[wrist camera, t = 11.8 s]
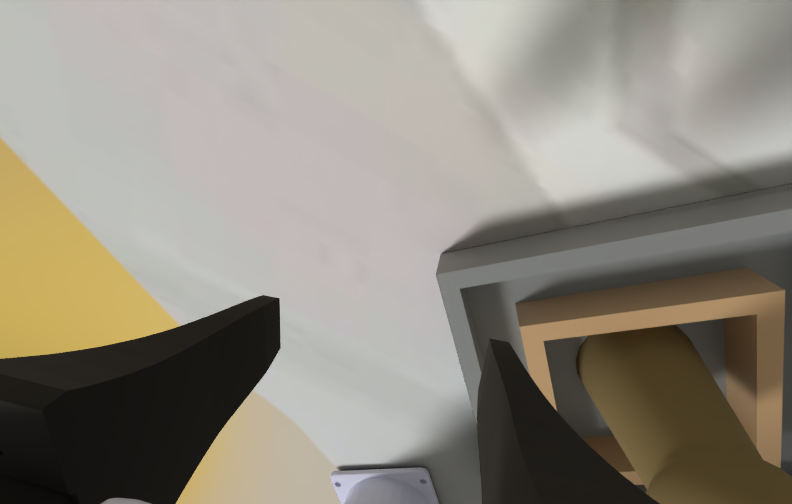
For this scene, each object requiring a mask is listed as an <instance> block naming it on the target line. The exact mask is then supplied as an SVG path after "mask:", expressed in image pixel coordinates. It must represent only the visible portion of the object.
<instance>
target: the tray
mask: <svg viewBox="0 0 792 504" xmlns="http://www.w3.org/2000/svg"><path fill="white" fill-rule="evenodd" d="M436 277H437V281H438V284H439V288H440V292H441V295H442V299H443V303H444V306H445V310H446V314H447V317H448V321H449V325H450V328H451V332H452V336H453V339H454V343H455V347H456V350H457V354H458V358H459V361H460V365H461V369H462V372H463V376H464V380H465V383H466V387H467V391H468V394H469V398H470V402H471V405H472V409H473V413H474V416H475V420H476V424H477V401H478V388H479V383H480V379H481V374H482V370H483V365H484V361H485V356H486V352H487V347H488V343H489V338H490V339H495V340H501V341H506V342H509V343H510V344H511V346H512V347H513V349H514V351H515V352H516V354H517V356H518V357H519V359H520V361H521V362H522V364H523V365H524V367H525V368H526V370H527V372H528V373H529V375H530V376H531V378H532V379H533V380H534V382H535V383H536V385H537V386H538V388H539V389H540V390H541V392H542V393H543V395H544V396H545V397H546V398H547V400H548V401H549V402H550V403H551V405H552V406H553V407H554V409H555V410H556V411H557V412H558V413H559V414H560V416H561V417H562V418H563V419H564V420H565V421H566V422H567V423H568V424H569V425H570V426H571V428H572V429H573V430H574V431H575V432H576V433H577V434H578V435H579V436H580V437H581V438H582V439H583V440H584V441H585V442H586V443H587V444H588V445H589V446H590V447H591V448H592V449H594V450H595V451H596V452H597V453H598V454H599V455H600V456H601V457H602V458H603V459H604V460H606V461H607V462H608V463H609V464H610V465H611V466H612V467H614V468H615V469H616V470H617V471H618V472H620V473H621V474H622V475H623V476H624V477H626V478H627V479H628V480H629V481H631V482H632V483H633V484H634V485H636V486H637V487H638V488H639V489H641V490H642V491H643V492H645V493H646V491H647V489H646V487H645V486H644V484H643V482H642V481H641V479H640V478H639V476H638V474H637V473H636V471H635V469H634V468H633V466H632V464H631V463H630V461H629V459H628V458H627V456H626V455H625V453H624V451H623V450H622V448H621V446H620V445H619V443H618V441H617V440H616V438H615V436H614V435H613V433H612V431H611V430H610V428H609V427H608V425H607V423H606V422H605V420H604V418H603V417H602V415H601V413H600V412H599V410H598V408H597V407H596V405H595V404H594V402H593V400H592V399H591V397H590V395H589V394H588V392H587V390H586V389H585V387H584V385H583V384H582V382H581V380H580V378H579V376H578V374H577V368H576V357H577V354H578V351H579V348H580V345H581V344H582V343H583V342H584V340H585V339H586V338H587V336H588V335H595V334H603V333H611V332H619V331H627V330H635V329H643V328H651V327H659V326H667V325H676V326H677V327H678V328H680V329H681V330H682V331H683V332H684V333H685V334H686V335H687V336H688V337H689V338H690V340H691V342H692V343H693V345H694V347H695V348H696V350H697V352H698V353H699V355H700V356H701V358H702V360H703V361H704V363H705V365H706V366H707V368H708V370H709V371H710V373H711V375H712V376H713V378H714V380H715V381H716V383H717V384H718V386H719V388H720V389H721V391H722V393H723V394H724V396H725V398H726V399H727V401H728V403H729V404H730V406H731V408H732V409H733V411H734V412H735V414H736V416H737V417H738V419H739V421H740V422H741V424H742V426H743V427H744V429H745V431H746V432H747V434H748V436H749V437H750V439H751V440H752V442H753V444H754V445H755V447H756V449H757V450H758V452H759V454H760V455H761V457H762V459H763V460H764V461H766V462H768V463H771V464H773V465H775V466H777V467H779V468H781V469H783V470H784V471H785V472H786V473H788V474H789V475H790V476H792V184H788V185H783V186H778V187H773V188H768V189H763V190H758V191H753V192H748V193H743V194H738V195H733V196H728V197H723V198H718V199H713V200H708V201H703V202H698V203H693V204H688V205H683V206H678V207H673V208H668V209H663V210H658V211H653V212H648V213H643V214H638V215H633V216H628V217H623V218H618V219H613V220H608V221H603V222H597V223H592V224H587V225H582V226H577V227H572V228H567V229H562V230H557V231H552V232H547V233H542V234H537V235H532V236H527V237H522V238H517V239H512V240H507V241H502V242H497V243H492V244H487V245H482V246H477V247H472V248H467V249H462V250H457V251H452V252H447V253H442V254H441V256H440V260H439V264H438V268H437V272H436Z"/></svg>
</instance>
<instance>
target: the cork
mask: <svg viewBox="0 0 792 504" xmlns="http://www.w3.org/2000/svg"><path fill="white" fill-rule="evenodd" d="M576 368H577V374H578V376H579V378H580V380H581V382H582V384H583V385H584V387H585V389H586V390H587V392H588V394H589V395H590V397H591V399H592V400H593V402H594V404H595V405H596V407H597V408H598V410H599V412H600V413H601V415H602V417H603V418H604V420H605V422H606V423H607V425H608V427H609V428H610V430H611V431H612V433H613V435H614V436H615V438H616V440H617V441H618V443H619V445H620V446H621V448H622V450H623V451H624V453H625V455H626V456H627V458H628V459H629V461H630V463H631V464H632V466H633V468H634V469H635V471H636V473H637V474H638V476H639V478H640V479H641V481H642V482H643V484H644V486H645V487H646V489H647V491H646V494H647V495H649V496H650V497H651V498H653V499H654V500H656V501H657V502H658V503H660V504H792V476H790V475H789V474H788V473H786V472H785V471H784V470H783V469H781V468H779V467H777V466H775V465H773V464H771V463H768V462H766V461H764V460H763V459H762V457H761V455H760V454H759V452H758V450H757V449H756V447H755V445H754V444H753V442H752V440H751V439H750V437H749V436H748V434H747V432H746V431H745V429H744V427H743V426H742V424H741V422H740V421H739V419H738V417H737V416H736V414H735V412H734V411H733V409H732V408H731V406H730V404H729V403H728V401H727V399H726V398H725V396H724V394H723V393H722V391H721V389H720V388H719V386H718V384H717V383H716V381H715V380H714V378H713V376H712V375H711V373H710V371H709V370H708V368H707V366H706V365H705V363H704V361H703V360H702V358H701V356H700V355H699V353H698V352H697V350H696V348H695V347H694V345H693V343H692V342H691V340H690V338H689V337H688V336H687V335H686V334H685V333H684V332H683V331H682V330H681V329H680V328H678V327H677V326H676V325H667V326H659V327H651V328H643V329H635V330H627V331H619V332H611V333H603V334H595V335H588V336H587V338H586V339H585V340H584V342H583V343H582V344H581V345H580V348H579V351H578V354H577V357H576Z"/></svg>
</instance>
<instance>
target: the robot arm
mask: <svg viewBox="0 0 792 504" xmlns="http://www.w3.org/2000/svg"><path fill="white" fill-rule="evenodd" d="M279 349H280V304H279V298H274V297H269V296H264V295H263V296H259V297H256V298H253V299H251V300H248V301H245V302H243V303H240V304H238V305H235V306H233V307H230V308H228V309H225V310H223V311H220V312H218V313H215V314H213V315H210V316H207V317H205V318H202V319H199V320H196V321H194V322H191V323H188V324H185V325H182V326H180V327H177V328H174V329H171V330H167V331H164V332H161V333H157V334H153V335H150V336H146V337H142V338H139V339H135V340H130V341H125V342H120V343H116V344H112V345H107V346H102V347H97V348H90V349H84V350H78V351H71V352H64V353H58V354H49V355H40V356H28V357H17V358H6V359H0V504H175V503H176V502H177V500H178V498H179V496H180V495H181V493H182V491H183V489H184V488H185V486H186V485H187V483H188V481H189V480H190V478H191V476H192V475H193V473H194V471H195V470H196V468H197V466H198V465H199V463H200V462H201V460H202V458H203V457H204V455H205V454H206V452H207V451H208V449H209V447H210V446H211V444H212V443H213V441H214V440H215V438H216V436H217V435H218V434H219V432H220V431H221V430H222V428H223V427H224V425H225V424H226V423H227V421H228V420H229V419H230V417H231V416H232V415H233V414H234V413H235V411H236V410H237V409H238V407H239V406H240V405H241V404H242V403H243V401H244V400H245V399H246V397H247V396H248V395H249V394H250V392H251V391H252V390H253V389H254V387H255V386H256V385H257V383H258V382H259V381H260V380H261V378H262V377H263V376H264V374H265V373H266V372H267V370H268V368H269V367H270V365H271V363H272V362H273V360H274V358H275V356H276V355H277V353H278V351H279ZM477 430H478V444H479V458H480V472H481V485H482V504H660V503H658V502H657V501H656V500H654V499H653V498H651V497H650V496H649V495H647V494H646V493H645V492H643V491H642V490H641V489H639V488H638V487H637V486H636V485H634V484H633V483H632V482H631V481H629V480H628V479H627V478H626V477H624V476H623V475H622V474H621V473H620V472H618V471H617V470H616V469H615V468H614V467H612V466H611V465H610V464H609V463H608V462H607V461H606V460H604V459H603V458H602V457H601V456H600V455H599V454H598V453H597V452H596V451H595V450H594V449H592V448H591V447H590V446H589V445H588V444H587V443H586V442H585V441H584V440H583V439H582V438H581V437H580V436H579V435H578V434H577V433H576V432H575V431H574V430H573V429H572V428H571V426H570V425H569V424H568V423H567V422H566V421H565V420H564V419H563V418H562V417H561V416H560V414H559V413H558V412H557V411H556V410H555V409H554V407H553V406H552V405H551V403H550V402H549V401H548V400H547V398H546V397H545V396H544V395H543V393H542V392H541V390H540V389H539V388H538V386H537V385H536V383H535V382H534V380H533V379H532V378H531V376H530V375H529V373H528V372H527V370H526V368H525V367H524V365H523V364H522V362H521V361H520V359H519V357H518V356H517V354H516V352H515V351H514V349H513V347H512V346H511V344H510V343H509V342H506V341H501V340H495V339H490V338H489V343H488V347H487V352H486V356H485V361H484V365H483V370H482V374H481V379H480V383H479V388H478V401H477ZM330 480H331V482H332V484H333V487H334V489H335V491H336V494H337V496H338V498H339V500H340V503H341V504H439V502H438V499H437V496H436V493H435V490H434V487H433V484H432V481H431V478H430V475H429V472H428V470H426V469H425V468H422V467H418V468H395V469H372V470H349V471H334V472H332V474H331V476H330Z"/></svg>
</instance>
